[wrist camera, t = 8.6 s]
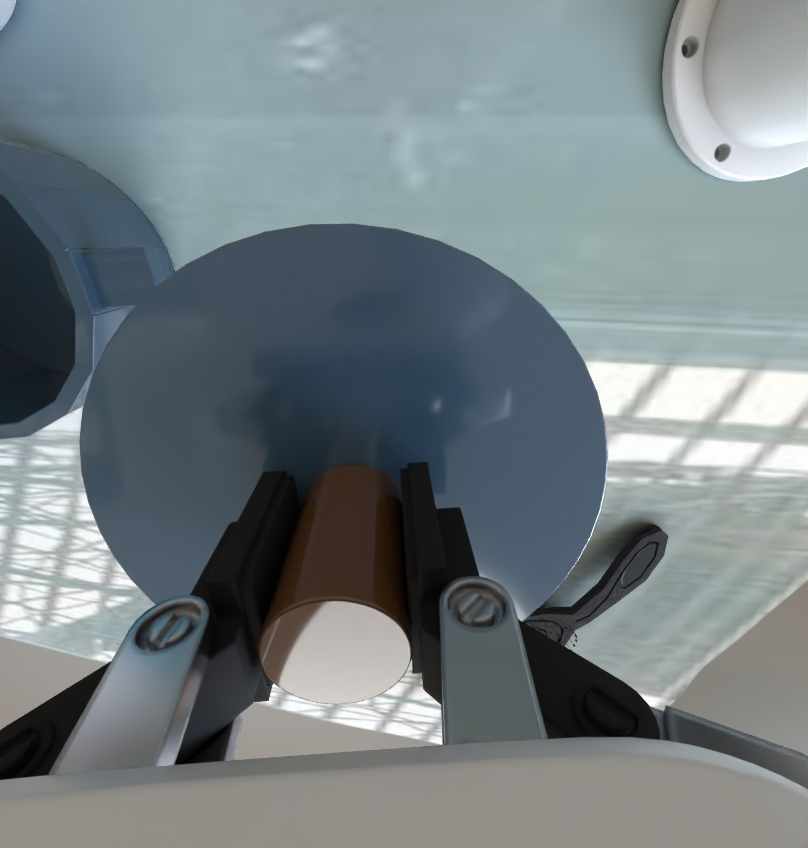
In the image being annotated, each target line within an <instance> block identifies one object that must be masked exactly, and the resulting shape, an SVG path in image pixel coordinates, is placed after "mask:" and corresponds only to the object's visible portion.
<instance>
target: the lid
mask: <svg viewBox="0 0 808 848" xmlns="http://www.w3.org/2000/svg"><path fill="white" fill-rule="evenodd" d="M80 456H81V471H82V477H83V481H84V485H85V490H86V494H87V499H88V503H89V505H90V508H91V510H92V513H93V516H94V518H95V521H96V523H97V526H98V528H99V531H100V533H101V534H102V536H103V538H104V540H105V541H106V543H107V545H108V547H109V549H110V550H111V552H112V554H113V556H114V557H115V559H116V560H117V561H118V563H119V564H120V565H121V567H122V568H123V569H124V571H125V572H126V573H127V575H128V576H129V577H130V579H131V580H132V581H133V582H134V583H135V584H136V585H137V586H138V587H139V588H140V589H141V590H142V592H143V593H144V594H145V595H146V596H147V597H148V598H149V599H150V600H151V601H152V602H153V603H155V604H156V605H157V604H158V603H161V602H163V601H165V600H168V599H170V598H174V597H178V596H183V595H190V594H191V592H192V590H193V588H194V586H195V585H196V583H197V581H198V579H199V577H200V576H201V574H202V572H203V570H204V568H205V566H206V565H207V563H208V561H209V559H210V557H211V556H212V554H213V552H214V550H215V548H216V546H217V545H218V543H219V541H220V539H221V537H222V536H223V534H224V532H225V530H226V528H227V527H228V525H229V524H230V523H232V522H237V521H238V519H239V517H240V515H241V513H242V511H243V510H244V508H245V506H246V504H247V502H248V500H249V498H250V496H251V494H252V492H253V490H254V489H255V487H256V485H257V483H258V481H259V479H260V477H261V475H262V474H263V472H271V471H286V473H287V475H288V476H291V475H293V476H294V479H295V483H296V489H297V494H298V500H299V506H300V510H299V513H298V516H297V520H296V523H295V526H294V529H293V532H292V535H291V538H290V542H289V545H288V548H287V551H286V554H285V557H284V561H283V564H282V567H281V570H280V573H279V576H278V580H277V583H276V586H275V589H274V592H273V595H272V598H271V602H270V605H269V608H268V611H267V614H266V617H265V621H264V624H263V627H262V630H261V633H260V636H259V640H258V657H259V661H260V664H261V666H262V669H263V670H264V672H265V673H266V675H267V676H268V677H269V679H270V680H271V681H272V682H273V683H275V684H276V685H277V686H278V687H280V688H281V689H282V690H284V691H286V692H288V693H289V694H291V695H293V696H296V697H298V698H301V699H304V700H308V701H312V702H317V703H324V704H348V703H355V702H360V701H364V700H367V699H370V698H373V697H375V696H378V695H380V694H382V693H384V692H385V691H387V690H389V689H390V688H392V687H393V686H394V685H395V684H396V683H397V682H399V681H400V680H401V678H402V677H403V676H404V675H405V673H406V672H407V671H411V670H412V654H413V642H412V628H411V623H410V620H409V605H408V589H407V573H406V557H405V541H404V526H403V510H402V493H401V476H400V469H402V468H408V465H407V463H414V462H427V463H428V468H429V474H430V479H431V484H432V490H433V495H434V500H435V505H436V509H438V508H454V507H460V509H461V511H462V515H463V518H464V522H465V525H466V529H467V533H468V536H469V540H470V543H471V547H472V550H473V554H474V558H475V561H476V565H477V568H478V572H479V575H480V577H485V578H488V579H491V580H493V581H495V582H497V583H498V584H500V585H501V586H503V587H504V588H505V589H506V590H507V592H508V593H509V594H510V595H511V598H512V600H513V602H514V605H515V609H516V613H517V617H518V619H519V620H520V621H523V620H525V619H526V618H527V617H528V616H529V615H531V614H532V613H533V612H534V611H535V610H536V609H537V608H538V607H540V606H541V605H542V604H543V603H544V602H545V601H546V600H547V599H548V598H549V597H550V596H551V595H552V594H553V592H554V591H555V590H556V589H557V588H558V587H559V586H560V585H561V584H562V582H563V581H564V580H565V578H566V577H567V576H568V574H569V573H570V571H571V570H572V568H573V567H574V566H575V564H576V563H577V561H578V560H579V558H580V556H581V554H582V552H583V550H584V548H585V547H586V545H587V543H588V541H589V539H590V537H591V535H592V532H593V529H594V527H595V524H596V521H597V518H598V516H599V513H600V510H601V505H602V500H603V496H604V491H605V486H606V478H607V462H608V449H607V438H606V427H605V421H604V417H603V413H602V409H601V405H600V401H599V397H598V393H597V390H596V388H595V386H594V383H593V381H592V379H591V376H590V374H589V372H588V369H587V367H586V365H585V362H584V361H583V359H582V357H581V356H580V354H579V353H578V351H577V349H576V348H575V346H574V345H573V343H572V341H571V340H570V338H569V337H568V335H567V333H566V332H565V331H564V330H563V329H562V327H561V326H560V325H559V324H558V323H557V322H556V320H555V319H554V318H553V317H552V316H551V315H550V313H549V312H548V311H547V310H546V309H545V308H544V307H543V305H542V304H541V303H539V302H538V301H537V300H536V299H535V298H534V297H532V296H531V295H530V294H529V293H528V292H527V291H525V290H524V289H523V288H522V287H521V286H519V285H518V284H517V283H516V282H515V281H514V280H512V279H511V278H509V277H508V276H506V275H505V274H503V273H501V272H500V271H498V270H497V269H495V268H493V267H492V266H490V265H489V264H487V263H485V262H484V261H482V260H481V259H479V258H477V257H475V256H473V255H470V254H468V253H466V252H463V251H461V250H459V249H457V248H454V247H452V246H450V245H447V244H445V243H443V242H441V241H438V240H434V239H431V238H427V237H423V236H420V235H416V234H413V233H409V232H405V231H402V230H398V229H391V228H383V227H376V226H368V225H360V224H309V225H303V226H296V227H290V228H284V229H278V230H272V231H266V232H263V233H260V234H257V235H253V236H250V237H247V238H244V239H241V240H238V241H235V242H232V243H229V244H226V245H223V246H221V247H219V248H217V249H215V250H213V251H211V252H209V253H207V254H205V255H203V256H201V257H199V258H197V259H195V260H193V261H191V262H190V263H188V264H186V265H185V266H183V267H182V268H180V269H179V270H178V271H176V272H175V273H174V274H172V275H171V276H169V277H168V278H167V279H165V280H164V281H163V282H161V283H160V284H158V285H157V286H156V287H154V288H153V289H152V290H151V291H150V292H149V293H148V294H147V295H146V296H145V297H144V298H143V299H142V300H141V301H140V303H139V304H138V305H137V306H136V307H135V308H134V309H133V310H132V311H131V312H130V313H129V314H128V315H127V316H126V318H125V319H124V320H123V322H122V323H121V325H120V326H119V328H118V329H117V330H116V332H115V333H114V335H113V336H112V338H111V339H110V340H109V342H108V343H107V345H106V347H105V349H104V351H103V353H102V355H101V358H100V360H99V362H98V364H97V366H96V368H95V370H94V372H93V375H92V377H91V380H90V384H89V388H88V391H87V395H86V399H85V402H84V406H83V411H82V421H81V431H80Z"/></svg>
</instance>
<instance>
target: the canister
mask: <svg viewBox="0 0 808 848" xmlns="http://www.w3.org/2000/svg"><path fill="white" fill-rule="evenodd" d="M174 273H175V272H174V268H173V265H172V263H171V260H170V257H169V254H168V252H167V250H166V248H165V246H164V244H163V242H162V240H161V238H160V237H159V235H158V233H157V232H156V230H155V228H154V227H153V225H152V224H151V222H150V221H149V220H148V219H147V217H146V216H145V215H144V213H143V212H142V211H141V210H140V208H139V207H138V206H137V205H136V204H135V203H134V202H133V201H132V200H131V199H130V198H129V197H128V196H127V195H126V194H125V193H124V192H122V191H121V190H120V189H119V188H118V187H117V186H115V185H114V184H113V183H112V182H110V181H109V180H107V179H106V178H105V177H103V176H102V175H100V174H99V173H97V172H96V171H94V170H92V169H90V168H88V167H87V166H86V165H85V164H83V163H80V162H77V161H74V160H71V159H69V158H66V157H64V156H61V155H57V154H54V153H51V152H48V151H45V150H42V149H39V148H36V147H33V146H30V145H26V144H22V143H18V142H14V141H11V140H7V139H3V138H0V439H7V438H18V437H27V436H30V435H32V434H34V433H36V432H38V431H40V430H41V429H43V428H45V427H47V426H49V425H50V424H52V423H54V422H56V421H58V420H59V419H61V418H63V417H65V416H67V415H69V414H70V413H72V412H74V411H76V410H78V409H79V408H81V407H83V406H84V402H85V399H86V395H87V391H88V388H89V384H90V380H91V377H92V375H93V372H94V370H95V368H96V366H97V364H98V362H99V360H100V358H101V355H102V353H103V351H104V349H105V347H106V345H107V343H108V342H109V340H110V339H111V338H112V336H113V335H114V333H115V332H116V330H117V329H118V328H119V326H120V325H121V323H122V322H123V320H124V319H125V318H126V316H127V315H128V314H129V313H130V312H131V311H132V310H133V309H134V308H135V307H136V306H137V305H138V304H139V303H140V301H141V300H142V299H143V298H144V297H145V296H146V295H147V294H148V293H149V292H150V291H151V290H152V289H153V288H154V287H156V286H157V285H158V284H160V283H161V282H163V281H164V280H165V279H167V278H168V277H169V276H171V275H172V274H174Z"/></svg>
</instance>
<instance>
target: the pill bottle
mask: <svg viewBox="0 0 808 848" xmlns="http://www.w3.org/2000/svg"><path fill="white" fill-rule="evenodd" d="M16 1H17V0H0V30H1V29H2V28H3V27H4V26H5V25H6V24H7V22H8V21H9V19H10V17H11V15H12V13H13V11H14V8H15V5H16Z"/></svg>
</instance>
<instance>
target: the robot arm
mask: <svg viewBox="0 0 808 848" xmlns="http://www.w3.org/2000/svg"><path fill="white" fill-rule="evenodd" d="M682 51H683V54H682ZM662 85H663V102H664V107H665V111H666V115H667V119H668V124H669V127H670V129H671V131H672V133H673V135H674V138H675V140H676V142H677V144H678V146H679V147H680V148H681V150H682V151H683V152H684V153H685V155H686V156H687V157H688V158H689V160H690V161H691V162H692V163H694V164H695V165H696V166H698V167H699V168H700V169H702V170H703V171H704V172H706V173H708V174H711V175H713V176H716V177H718V178H720V179H724V180H731V181H738V182H747V181H758V180H765V179H770V178H775V177H780V176H785V175H787V174H790V173H792V172H795V171H797V170H800V169H802V168H805V167H807V166H808V0H679V2H678V5H677V7H676V10H675V12H674V15H673V18H672V21H671V25H670V29H669V33H668V37H667V42H666V46H665V52H664V62H663V72H662ZM407 465H408V468H402V469H400V476H401V493H402V510H403V526H404V541H405V557H406V573H407V589H408V605H409V620H410V623H411V628H412V642H413V654H412V672H413V673H422V679H423V689H425V691H426V692H427V693H428V694H429V695H430V696H432V697H433V698H434V699H435V700H436V701H437V702H439V703H440V704H441V717H442V744H443V745H439V746H425V747H411V748H396V749H383V750H367V751H353V752H341V753H326V754H313V755H300V756H286V757H273V758H260V759H247V760H234V759H235V754H236V750H237V745H238V741H239V736H240V731H241V727H242V720H243V711H244V710H245V709H247V708H248V707H249V706H250V705H251V704H252V703H253V702H260V701H269V697H270V693H271V689H272V685H273V684H275V683H273V682H272V681H271V680H270V679H269V677H268V676H267V675H266V673H265V672H264V670H263V669H262V666H261V664H260V661H259V657H258V640H259V636H260V633H261V630H262V627H263V624H264V621H265V617H266V614H267V611H268V608H269V605H270V602H271V598H272V595H273V592H274V589H275V586H276V583H277V580H278V576H279V573H280V570H281V567H282V564H283V561H284V557H285V554H286V551H287V548H288V545H289V542H290V538H291V535H292V532H293V529H294V526H295V523H296V520H297V516H298V513H299V510H300V506H299V500H298V494H297V489H296V483H295V479H294V476H293V475H291V476H288V475H287V473H286V471H271V472H263V474H262V475H261V477H260V479H259V481H258V483H257V485H256V487H255V489H254V490H253V492H252V494H251V496H250V498H249V500H248V502H247V504H246V506H245V508H244V510H243V511H242V513H241V515H240V517H239V519H238V521H237V522H232V523H230V524H229V525H228V527H227V528H226V530H225V532H224V534H223V536H222V537H221V539H220V541H219V543H218V545H217V546H216V548H215V550H214V552H213V554H212V556H211V557H210V559H209V561H208V563H207V565H206V566H205V568H204V570H203V572H202V574H201V576H200V577H199V579H198V581H197V583H196V585H195V586H194V588H193V590H192V592H191V594H190V595H183V596H178V597H174V598H170V599H168V600H165V601H163V602H161V603H158V604H157V605H155V606H153V607H152V608H150V609H149V610H147V611H146V612H145V613H144V614H143V615H141V616H140V617H139V618H138V619H137V620H136V621H135V623H134V624H133V625H132V627H131V628H130V629H129V631H128V633H127V635H126V636H125V638H124V640H123V642H122V644H121V645H120V647H119V649H118V651H117V652H116V654H115V656H114V658H113V660H112V661H111V662H109V663H108V664H106V665H104V666H103V667H101V668H100V669H98V670H96V671H95V672H93V673H92V674H90V675H88V676H87V677H85V678H83V679H82V680H80V681H79V682H77V683H75V684H74V685H72V686H70V687H69V688H67V689H66V690H64V691H62V692H61V693H59V694H58V695H56V696H54V697H53V698H51V699H49V700H48V701H46V702H45V703H43V704H41V705H40V706H38V707H37V708H35V709H34V710H32V711H30V712H29V713H27V714H25V715H24V716H22V717H21V718H19V719H17V720H16V721H14V722H12V723H11V724H9V725H7V726H6V727H4V728H3V729H2V730H0V848H808V756H806V755H804V754H802V753H800V752H798V751H795V750H792V749H789V748H786V747H784V746H781V745H778V744H775V743H772V742H769V741H766V740H764V739H761V738H758V737H755V736H752V735H749V734H747V733H744V732H741V731H738V730H735V729H732V728H729V727H726V726H724V725H720V724H718V723H715V722H712V721H709V720H707V719H704V718H701V717H698V716H695V715H692V714H689V713H687V712H683V711H681V710H678V709H675V708H672V707H669V706H667V705H666V707H665V710H664V711H661V710H658V709H655V708H653V707H650V706H649V705H648V704H647V702H646V701H645V700H644V699H643V698H642V697H641V696H640V695H639V694H638V692H636V691H635V690H634V689H632V688H631V687H630V686H628V685H627V684H626V683H624V682H623V681H621V680H620V679H618V678H616V677H614V676H613V675H611V674H609V673H608V672H606V671H604V670H603V669H601V668H599V667H598V666H596V665H594V664H593V663H591V662H589V661H588V660H586V659H584V658H583V657H581V656H579V655H578V654H576V653H574V652H573V651H571V650H569V649H567V648H566V647H564V646H562V645H561V644H559V643H557V642H556V641H554V640H552V639H551V638H549V637H547V636H546V635H544V634H542V633H541V632H539V631H537V630H536V629H534V628H532V627H531V626H529V625H527V624H526V623H524V622H522V621H520V620H519V619H518V617H517V613H516V609H515V605H514V602H513V600H512V598H511V595H510V594H509V593H508V592H507V590H506V589H505V588H504V587H503V586H501V585H500V584H498V583H497V582H495V581H493V580H491V579H488V578H485V577H480V575H479V572H478V568H477V565H476V561H475V558H474V554H473V550H472V547H471V543H470V540H469V536H468V533H467V529H466V525H465V522H464V518H463V515H462V511H461V509H460V507H454V508H438V509H436V505H435V500H434V495H433V490H432V484H431V479H430V474H429V468H428V463H427V462H414V463H407Z"/></svg>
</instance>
